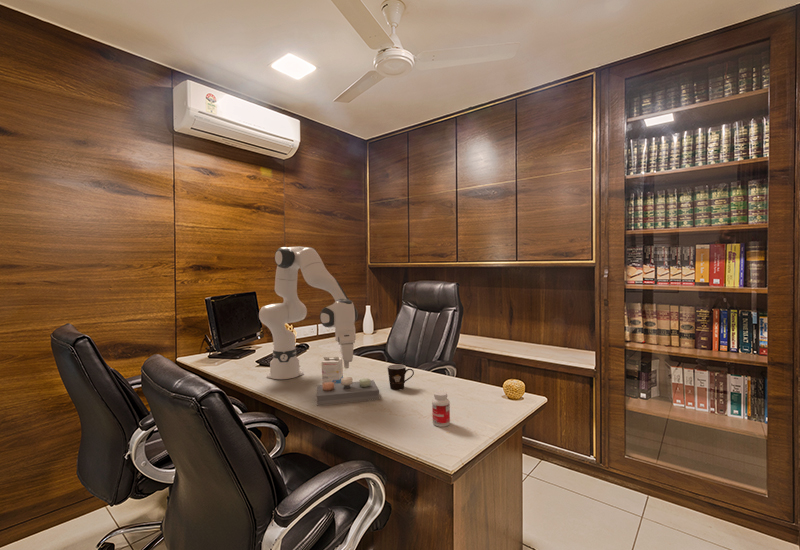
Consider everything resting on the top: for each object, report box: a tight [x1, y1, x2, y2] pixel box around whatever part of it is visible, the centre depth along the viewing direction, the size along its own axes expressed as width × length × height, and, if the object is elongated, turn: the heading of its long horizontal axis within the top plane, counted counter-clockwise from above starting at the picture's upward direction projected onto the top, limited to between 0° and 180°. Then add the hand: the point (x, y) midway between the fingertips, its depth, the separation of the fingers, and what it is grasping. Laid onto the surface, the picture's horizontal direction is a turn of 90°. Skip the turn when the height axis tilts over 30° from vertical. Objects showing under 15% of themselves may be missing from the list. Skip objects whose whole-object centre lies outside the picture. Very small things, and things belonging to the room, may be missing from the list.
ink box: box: [321, 356, 344, 385], centre depth 184 cm, size 9×8×13 cm
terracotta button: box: [321, 382, 334, 391], centre depth 161 cm, size 5×5×4 cm
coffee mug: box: [387, 363, 415, 391], centre depth 173 cm, size 12×9×10 cm
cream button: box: [341, 376, 354, 389], centre depth 163 cm, size 5×5×4 cm
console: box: [316, 379, 380, 407], centre depth 163 cm, size 15×26×4 cm, turn 103°
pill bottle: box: [431, 390, 451, 428], centre depth 132 cm, size 6×6×11 cm
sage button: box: [358, 378, 371, 387], centre depth 165 cm, size 5×5×4 cm
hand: (346, 367), depth 163 cm, fingers closed
